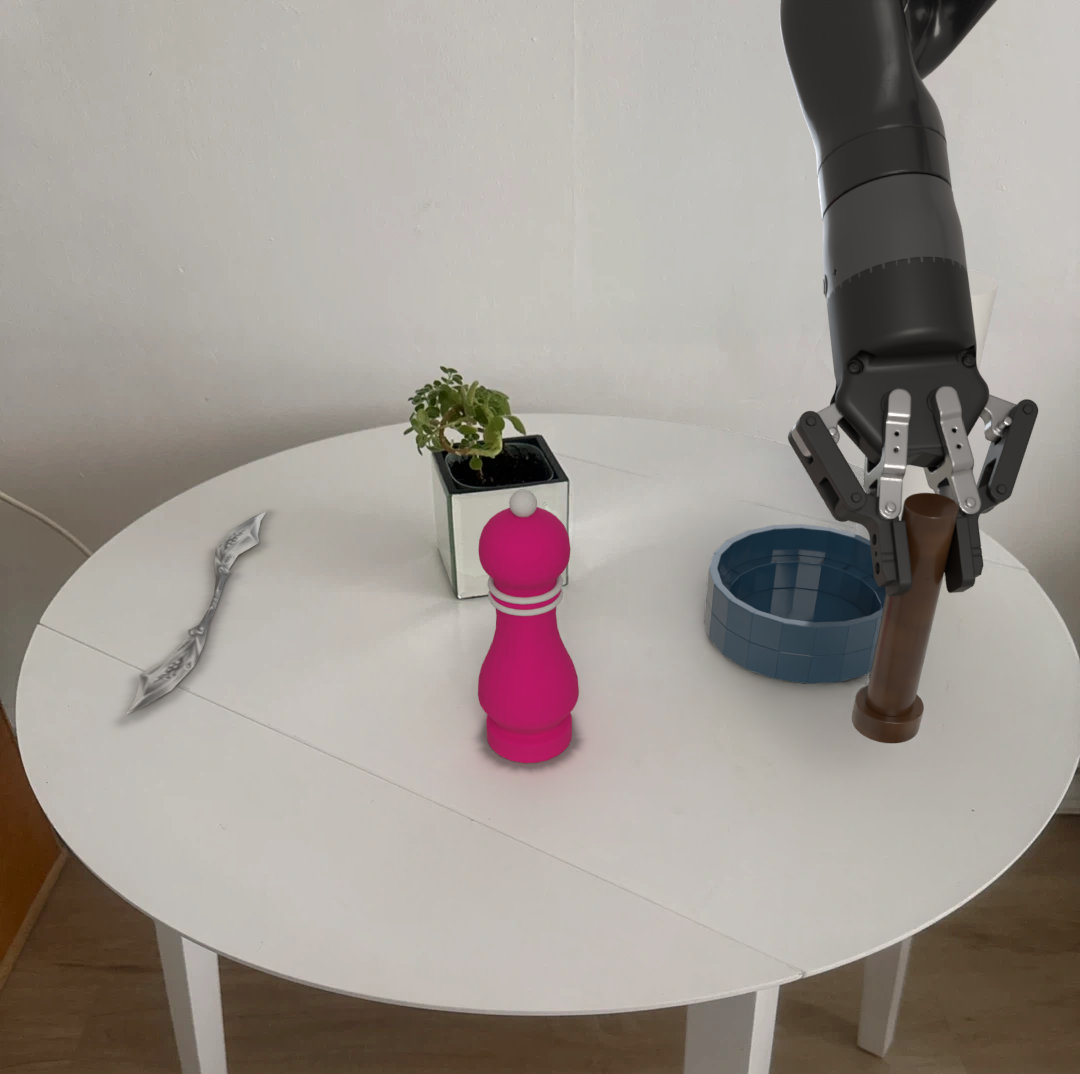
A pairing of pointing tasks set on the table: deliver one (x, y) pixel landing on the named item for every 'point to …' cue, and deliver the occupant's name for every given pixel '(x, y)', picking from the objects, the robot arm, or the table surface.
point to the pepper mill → (526, 634)
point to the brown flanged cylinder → (907, 626)
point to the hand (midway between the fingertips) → (930, 589)
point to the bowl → (795, 603)
